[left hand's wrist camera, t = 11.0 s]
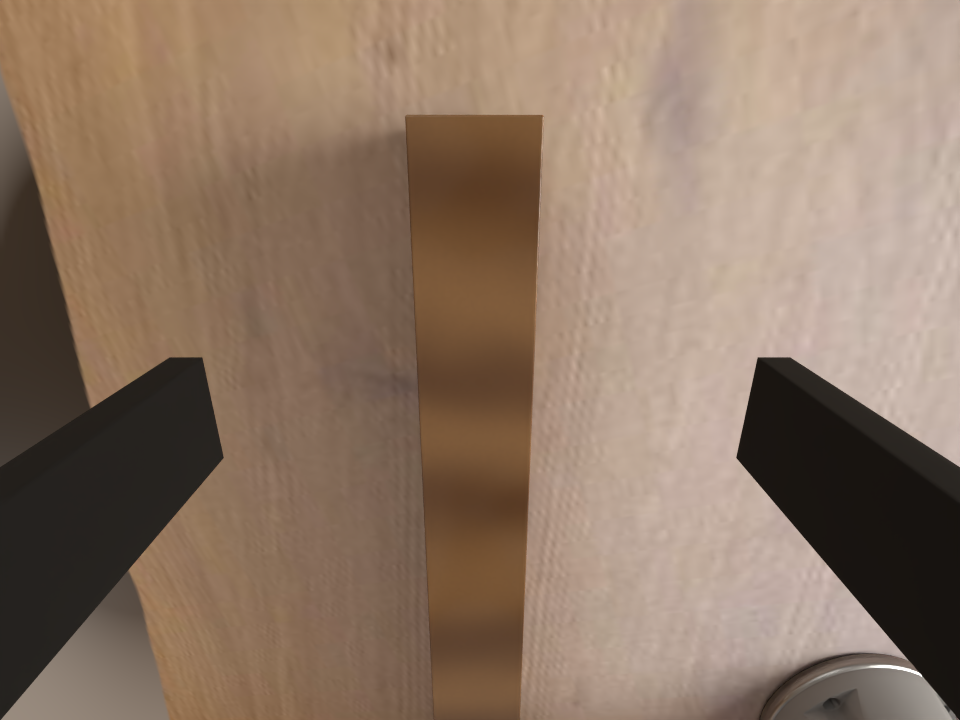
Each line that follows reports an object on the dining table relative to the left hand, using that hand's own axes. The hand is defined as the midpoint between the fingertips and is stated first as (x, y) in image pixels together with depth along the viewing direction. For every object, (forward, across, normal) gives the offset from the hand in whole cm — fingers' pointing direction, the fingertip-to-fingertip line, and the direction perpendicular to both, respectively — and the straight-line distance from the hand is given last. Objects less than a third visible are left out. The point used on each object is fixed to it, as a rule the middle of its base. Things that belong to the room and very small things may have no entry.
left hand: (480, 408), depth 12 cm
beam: (+20, 0, -22) cm, 30 cm away
